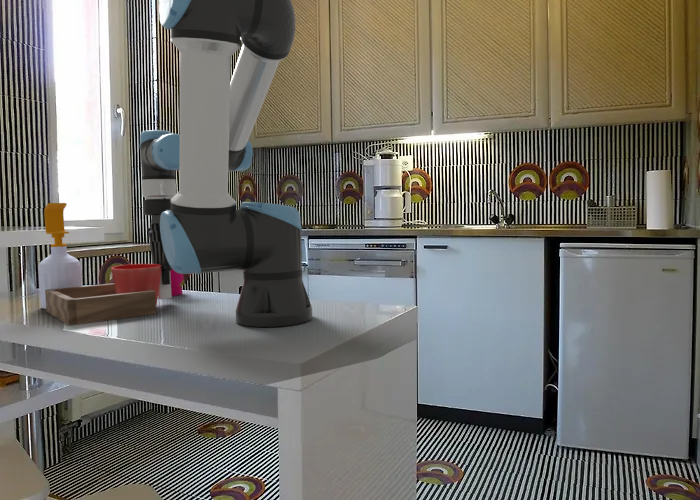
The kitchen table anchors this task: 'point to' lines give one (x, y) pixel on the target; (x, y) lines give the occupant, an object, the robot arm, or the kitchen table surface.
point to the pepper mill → (176, 283)
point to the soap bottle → (57, 256)
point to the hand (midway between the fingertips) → (164, 298)
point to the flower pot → (137, 278)
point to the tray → (97, 303)
